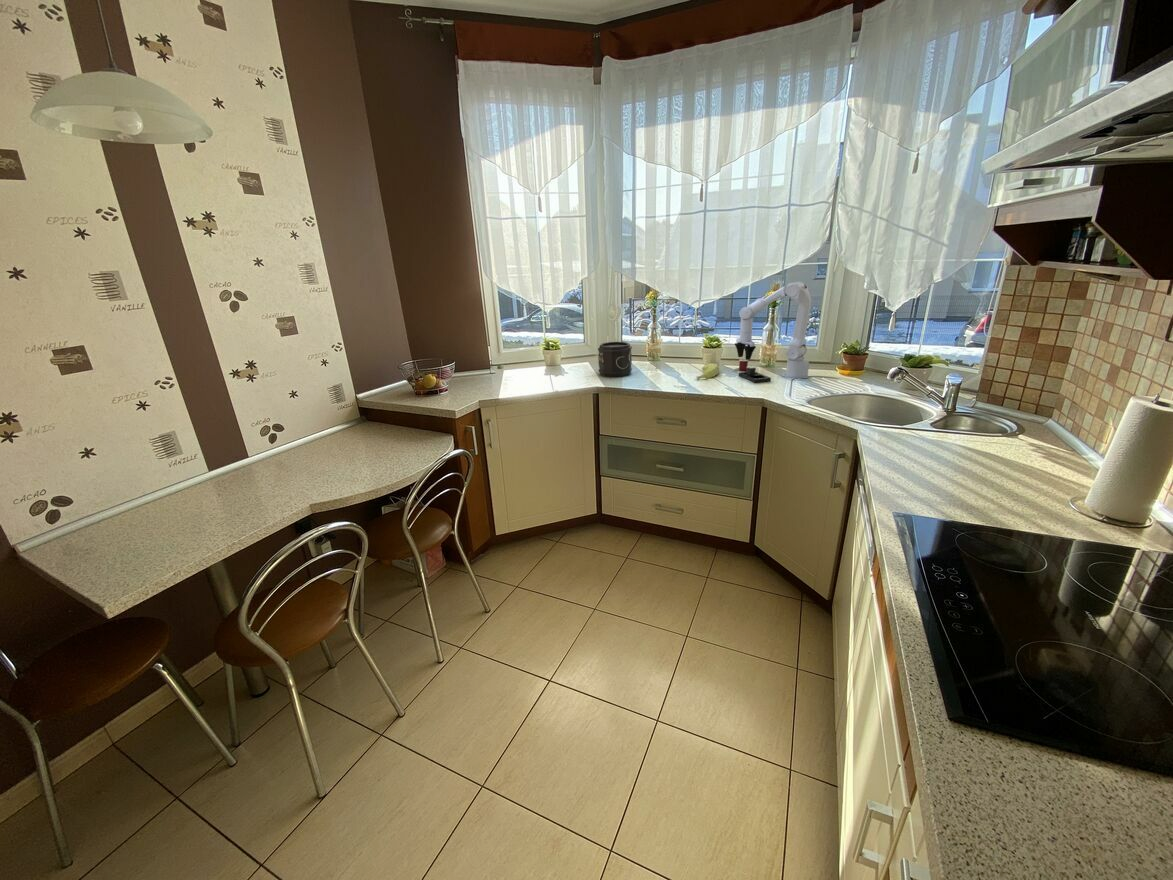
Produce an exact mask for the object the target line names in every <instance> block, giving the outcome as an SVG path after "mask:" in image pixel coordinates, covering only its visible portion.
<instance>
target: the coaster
mask: <svg viewBox="0 0 1173 880" xmlns="http://www.w3.org/2000/svg"><path fill="white" fill-rule="evenodd" d="M734 371H736V372H739V373H740V372H747V370H745V371H741V370H739V367H736V368H734Z"/></svg>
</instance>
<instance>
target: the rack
mask: <svg viewBox="0 0 1173 880" xmlns="http://www.w3.org/2000/svg"><path fill="white" fill-rule="evenodd" d="M746 374H747V372H740V371H739V372H738V377H739V378H742V379H743V380H746V381H748V382H750V383H752V384H763V383H771V381H772V378H771V377H769V376H767V375H765V374H762V373H759V372H757V371H755V375H746Z"/></svg>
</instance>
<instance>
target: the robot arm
mask: <svg viewBox="0 0 1173 880" xmlns="http://www.w3.org/2000/svg"><path fill="white" fill-rule="evenodd" d="M782 297H788V298H790V299H792V300H794V301H795V302H796V304H798V306H797V312H796V318H795V323H794V328H793V334H792V339H791V340H790V343H789V346H788V348H787V350H786V351H785V355H786V357H787V360H786V368H785V369H786V371H785V374H782V375H781V376H782V377H785V378H788V379H790V380H794V379H801V380H802V379H809V377H810V376H808V375H809V369H810V368H809V367H810V361H809V359H807V358H805V355H806V354H807V351H808V349H807V346H806V345H807V341H806V335H807V329H808V324H809V323H808V322H809V318H810V312H811V308H812V307H811V306H812V302H813V299H812V297H811V294H810V291H809V286H808V285H807V284H806V283H805V282H803V281H796V282H790V283H788V284H787V285H784V286H782V287H780V288H778V290H775V291H773V293H771V294H770V295H768V296H766V297H765V298H763V297H758V298H756V299H755V301H754V302H752V303H748V304H747V306H743V307H742V308H741V309H740V310H739V315H738V316H739V318H740V329H739V337H738V338H736V343H735V342H734V346H735V348H736V352H737V357H738V358H743V356H745V359H746V360H748V361H750V360H751V358H752V355H753V353H754V351H755V349H756V347H757V345H756V343H755V342H754V341H753V340H752V337H753V336H752V335H753V323H754V322H753V321H754V317H755V316H756V315H758V314H760V313H762V312H763V311H765V310H766V309H768V306H769V305H770V304H771V303H773V302H776V301H777V300H778V299H781V298H782ZM744 353H745V354H744Z"/></svg>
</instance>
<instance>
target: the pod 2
mask: <svg viewBox="0 0 1173 880" xmlns="http://www.w3.org/2000/svg"><path fill="white" fill-rule="evenodd" d="M756 368H757V366H755V365H747V374H746V375H755V372H756Z"/></svg>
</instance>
